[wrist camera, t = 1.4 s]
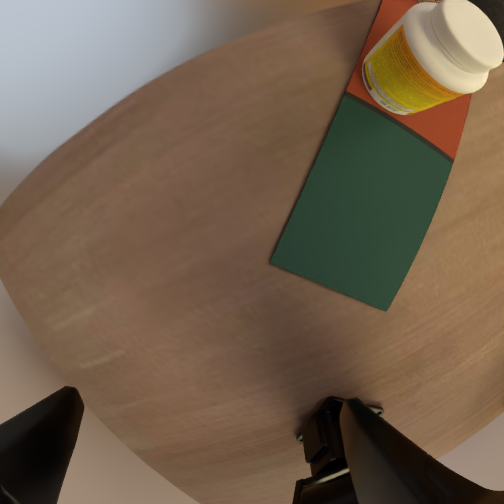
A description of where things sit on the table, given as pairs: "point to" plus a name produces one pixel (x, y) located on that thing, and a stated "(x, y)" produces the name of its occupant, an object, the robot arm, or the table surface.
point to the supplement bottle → (432, 56)
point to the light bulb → (493, 14)
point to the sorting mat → (372, 188)
